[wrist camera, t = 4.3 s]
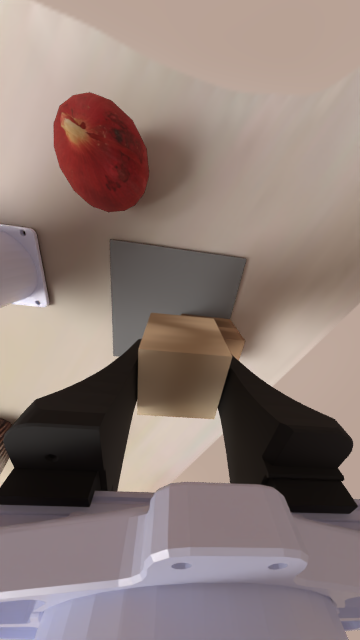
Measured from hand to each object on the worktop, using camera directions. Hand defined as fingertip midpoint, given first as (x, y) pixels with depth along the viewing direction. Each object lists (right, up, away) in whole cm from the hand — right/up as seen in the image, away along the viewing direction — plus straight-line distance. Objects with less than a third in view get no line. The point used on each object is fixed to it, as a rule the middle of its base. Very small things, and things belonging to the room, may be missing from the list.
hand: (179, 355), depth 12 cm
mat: (-1, +3, +9) cm, 10 cm away
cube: (0, +1, +1) cm, 2 cm away
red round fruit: (-5, +15, +4) cm, 16 cm away
